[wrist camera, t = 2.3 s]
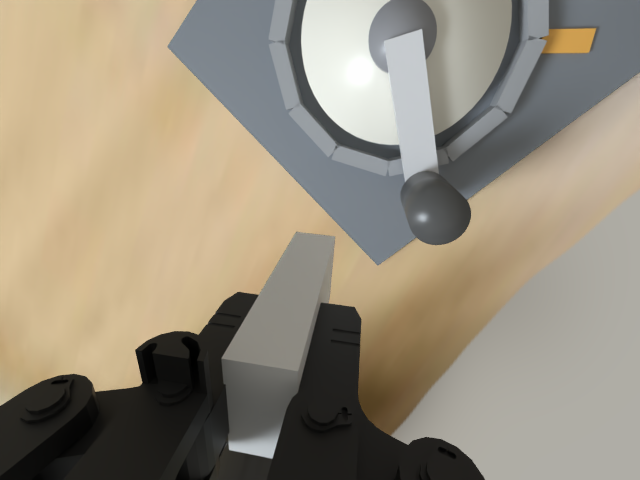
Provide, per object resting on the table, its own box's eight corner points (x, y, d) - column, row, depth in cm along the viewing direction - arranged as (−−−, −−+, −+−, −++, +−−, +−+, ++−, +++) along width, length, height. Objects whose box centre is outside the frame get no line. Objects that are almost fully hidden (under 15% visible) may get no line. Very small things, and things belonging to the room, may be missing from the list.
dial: (282, -38, 22) (236, -114, 14) (498, -124, 19) (585, -280, 11) (343, 222, 29) (334, 263, 21) (510, 190, 26) (569, 225, 18)
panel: (669, 43, 22) (703, 35, 19) (377, 261, 31) (378, 272, 29) (434, -352, 17) (444, -420, 15) (174, 48, 26) (156, 43, 24)
